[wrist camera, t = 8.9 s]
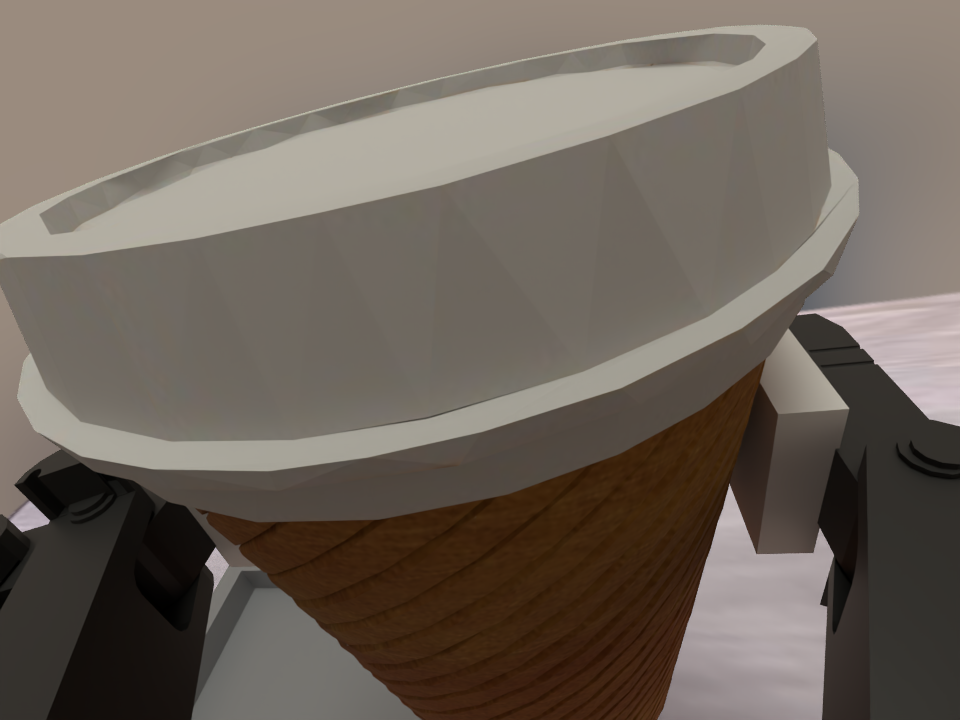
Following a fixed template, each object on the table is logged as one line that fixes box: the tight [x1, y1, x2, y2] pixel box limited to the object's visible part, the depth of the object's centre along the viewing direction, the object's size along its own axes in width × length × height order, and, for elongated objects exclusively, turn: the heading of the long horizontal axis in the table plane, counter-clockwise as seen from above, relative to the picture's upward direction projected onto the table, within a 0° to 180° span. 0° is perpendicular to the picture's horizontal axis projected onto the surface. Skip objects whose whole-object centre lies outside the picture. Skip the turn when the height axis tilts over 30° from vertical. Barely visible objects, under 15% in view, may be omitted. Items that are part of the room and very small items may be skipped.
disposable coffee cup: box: [0, 25, 859, 720], centre depth 9 cm, size 10×10×12 cm
